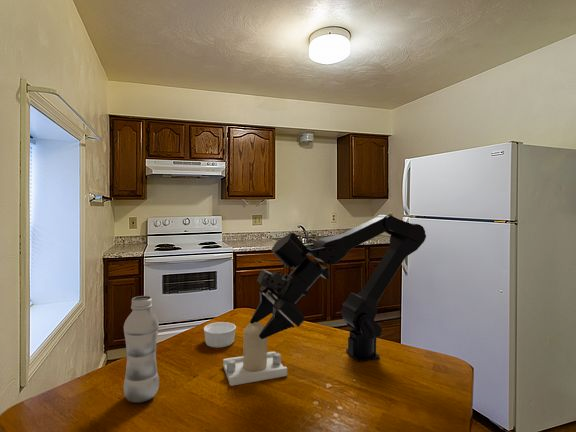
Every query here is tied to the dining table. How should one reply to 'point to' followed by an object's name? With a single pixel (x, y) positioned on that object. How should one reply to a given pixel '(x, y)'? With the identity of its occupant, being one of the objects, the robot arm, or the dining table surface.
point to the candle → (254, 348)
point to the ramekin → (219, 334)
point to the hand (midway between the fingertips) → (255, 330)
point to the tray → (241, 375)
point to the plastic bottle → (141, 351)
